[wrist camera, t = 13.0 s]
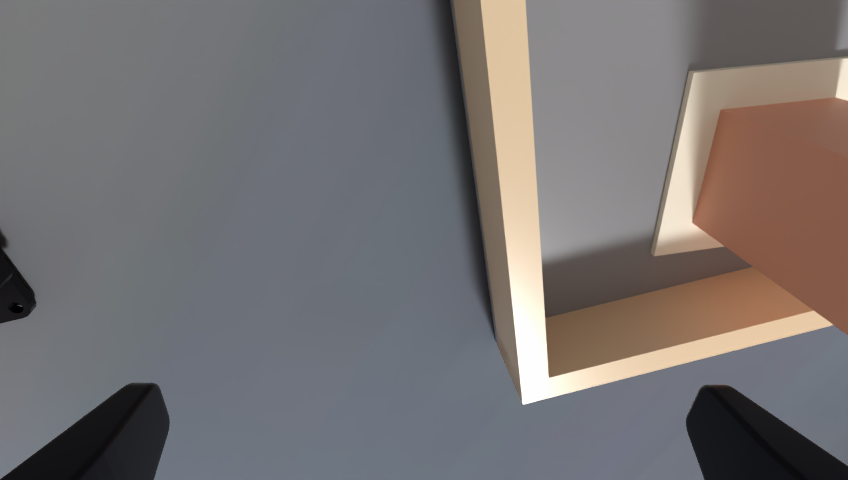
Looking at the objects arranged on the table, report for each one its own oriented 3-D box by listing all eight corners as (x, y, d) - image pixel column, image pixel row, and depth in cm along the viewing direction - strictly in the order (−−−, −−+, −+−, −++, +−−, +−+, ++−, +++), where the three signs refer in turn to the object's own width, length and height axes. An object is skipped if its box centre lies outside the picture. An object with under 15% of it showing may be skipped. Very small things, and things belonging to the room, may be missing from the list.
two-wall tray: (495, 341, 24) (522, 404, 21) (438, -91, 15) (469, -107, 11) (834, 257, 25) (913, 304, 22) (976, -200, 16) (1155, -246, 12)
